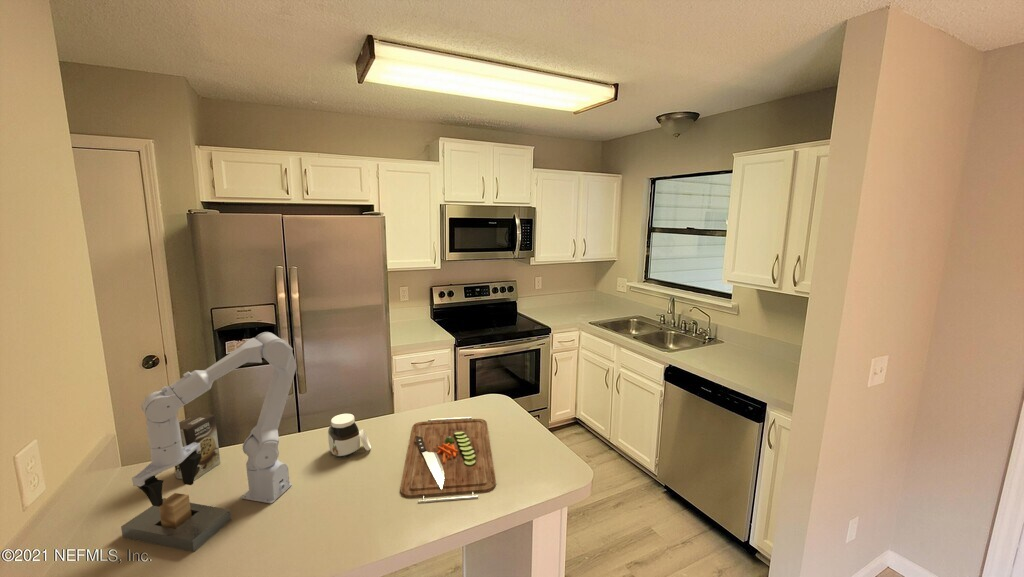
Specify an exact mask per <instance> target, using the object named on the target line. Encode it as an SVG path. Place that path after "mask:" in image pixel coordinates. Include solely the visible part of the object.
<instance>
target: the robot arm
mask: <svg viewBox="0 0 1024 577" xmlns="http://www.w3.org/2000/svg"><path fill="white" fill-rule="evenodd" d="M293 350H294V348H293V347H292V346H291V345H290V343H288V341H286V340H284V339H283V338H280V337H279V336H277V335H276V334H274V333H273V332H269V331H264V332H261V333H259V334H257V335H256V336H255V337H252V338H249V339H247V340H246V341H245V342H244V343H243V344H242V345H240V346H239V347H237V348H236V349H234V350H233V351H231V352H230V353H228V354H227V355H225V356H224V357H222V358H221V359H219V360H218V361H216V362H215V363H213V364H212V365H210V366H208V367H207V368H206V369H202V370H199V369H195V370H192V371H191V372H190V371H186V372H184V373H183V374H182V376H183V377H180V378H179V379H178V380H176V381H174V382H173V383H171V384H170V385H168V386H166V385H164V386H163V387H161V388H160V390H159V391H157V390H156V391H153V392H151V393H149V394H148V395H147V396H146V397H145V398H144V399H143V401H142V404H141V405H140V408H141V410H142V411H143V412H144V415H145V418H146V420H145V423H146V432H147V439H148V445H149V452H150V457H151V459H150V463H149V464H148V465H146V466H145V467H144V468H143V469H142V470H141V471H140V472H139V473H137V474H136V475H134V476H132V477H131V481H132V486H135V487H137V488H138V489H140V491H142V492H143V493H144V495H145V496H146V497H147V498H148V500H149V502H150V503H151V506H158V507H160V506H161V505H162V504H163V485H164V479H158V477H156V476H157V475H159V474H161V473H163V472H164V471H168V470H169V469H172V468H175V466H176V465H178V464H179V467H180V470H181V473H182V479H181V480H182V483H183V485H187V486H192V485H193V484H194V483H195V480H194V477H195V472H196V469H197V466H198V464H199V462H200V460H201V458H202V456H201V454H199V453H197V452H199V451H200V450H201V446H200V443H195V442H193V443H192V444H190V445H187V446H185V447H183V446H182V439H181V433H180V426H179V422H180V421H179V418H178V414H179V411H180V409H181V408H182V407H184V406H185V405H187V404H189V403H191V402H192V401H194V400H196V399H197V398H198V397H200V396H202V395H203V394H205V393H206V392H208V391H210V390H211V389H212V386H213V384H214V382H215V381H217V380H218V379H220V378H221V377H223V376H225V375H227V374H229V373H230V372H232V371H234V370H236V369H237V368H239V367H241V366H242V365H245V364H247V363H254V364H255V363H259V364H260V363H261V364H262V363H263V360H262V358H263V359H264V360H265V361H267V363H269V365H270V367H272V369H273V370H272V374H271V377H270V380H269V384H268V387H267V390H266V394H265V397H264V400H263V404H262V406H261V409H260V413H259V416H258V419H257V423H256V425H255V426H254V427H253V428H252V429H251V430H250V434H249V436H248V437H247V438H246V439H245V440H244V442H243V444H242V451H243V453H244V454H245V455H246V456H247V461H246V464H245V467H246V474H247V485H248V491H247V492H245V493H244V494H243V495H242V496H241V497H240V498H241V499H243V500H248V501H253V502H254V501H255V502H260V503H265V504H273V503H274V502H275V501H277V499H278V498H280V497H281V496H282V495H283V494H284V493H285V492H286V491H288V489H289V488H290V487H292V486H293V483H291V482H290V473H289V466H288V465H287V464H286V463H284V462H282V461H280V460H279V454H280V450H279V443H280V437H279V431H278V429H279V427H280V424H281V420H282V416H283V414H284V409H285V406H286V403H287V401H288V397H289V393H290V390H291V387H292V385H293V384H292V383H293V381H294V377H295V374H296V370H297V363H296V360H295V357H294V353H293Z"/></svg>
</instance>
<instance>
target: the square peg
mask: <svg viewBox="0 0 1024 577" xmlns="http://www.w3.org/2000/svg"><path fill="white" fill-rule="evenodd" d="M190 503H191V502H190V496H189V494H184V493H179V492H174V493H173V494H171V495H170V496H168V497H167V498H166V499H165V500H164V501H163V504H162V505H161V506H160V507H159V511H160V517H161V523H162V527H168V528H173V529H176V528H177V527H179V526H180V525H181V524H183V523H184V522H185V521H187V520H188V519H189V518H190V517H192V514H191V508H190Z"/></svg>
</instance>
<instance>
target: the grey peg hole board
mask: <svg viewBox="0 0 1024 577" xmlns="http://www.w3.org/2000/svg"><path fill="white" fill-rule="evenodd" d="M162 499H163V501H164V500H165V499H167V498H164V497H162ZM190 508H191V514H192V517H190V518H189V519H188V520H187V521H185V522H184V523H183V524H181V525H180V526H179V527H177V528H176V529H173V528H168V527H162V523H161V517H160V511H159V507H158V506H153V505H151V506H150V507H148V508H147V509H145V510H143V511H142V512H141V513H140V514H139V513H138V514H137V515H136V516H135V517H133V518H132V519H130V520H129V521H127V522H126V523H124V524H123V525H121V527H120V530H121V533H122V538H123V539H126V540H127V539H128V540H134V541H138V542H142V543H148V544H152V545H153V544H154V545H158V546H163V547H166V548H167V547H168V548H173V549H178V550H184V551H188V552H193V553H194V552H196V551H197V550H198V549H200V548H201V547H202V546H204V544H205V543H206V542H208V541H209V540H210V539H211V538H213V537H214V536H215V535H216V534H217V533H218V532H220V530H222V529H223V528H224V527H226V526H227V524H229V523H230V522H232V515H231V509H229V508H228V509H227V508H222V507H216V506H213V505H212V506H210V505H206V504H199V503H195V502H190Z"/></svg>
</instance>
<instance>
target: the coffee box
mask: <svg viewBox="0 0 1024 577" xmlns="http://www.w3.org/2000/svg"><path fill="white" fill-rule="evenodd" d="M179 426H180V433H181V439H182V446H183V447H185V446H187V445H190V444H192V443H193V442H195V443H200V446H201V450H200V451H199V452H197V453H199V454H201V456H202V458H201V460H200V462H199V464H198V466H197V469H196V472H195V477H194V481H196V480H197V479H199V478H201V477H202V476H204V475H205V474H207V473H208V472H210V471H211V470H212V469H214V468H216V467H217V466H218V465H220V464H221V457H220V456H221V455H220V447H219V440H218V431H217V430H218V429H217V422H216V415H215V414H210V413H202V412H200V413H199V412H197V413H196V414H193V415H191V416H189V417H187V418H185V419H183V420H181V421H179ZM174 472H175V473H174V474H175V478H176V479H179V480H183V479H182V473H181V470H180V467H179V464H178V465H176V466H174Z"/></svg>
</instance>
